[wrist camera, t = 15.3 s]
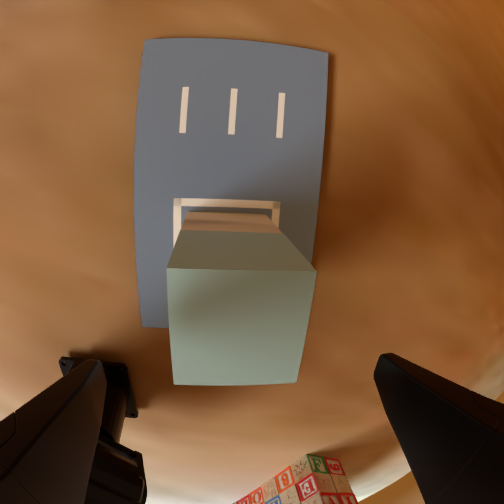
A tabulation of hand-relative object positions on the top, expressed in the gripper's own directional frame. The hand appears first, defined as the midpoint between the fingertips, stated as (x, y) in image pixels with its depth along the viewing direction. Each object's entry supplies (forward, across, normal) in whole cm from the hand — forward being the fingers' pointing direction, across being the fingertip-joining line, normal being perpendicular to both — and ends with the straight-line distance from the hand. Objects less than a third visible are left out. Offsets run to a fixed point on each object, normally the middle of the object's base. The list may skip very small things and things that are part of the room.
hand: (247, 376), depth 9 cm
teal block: (+7, 0, 0) cm, 7 cm away
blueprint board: (+13, 0, -4) cm, 14 cm away
